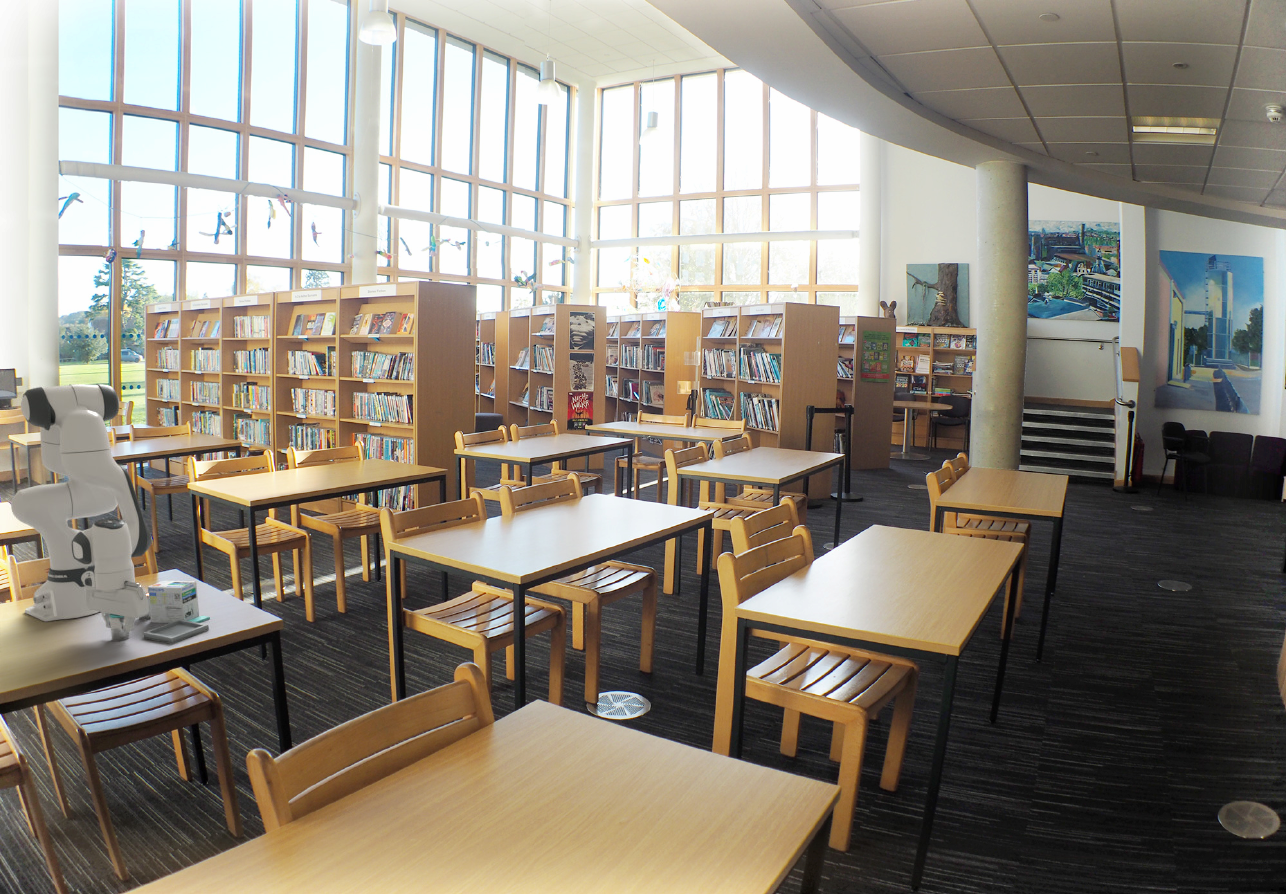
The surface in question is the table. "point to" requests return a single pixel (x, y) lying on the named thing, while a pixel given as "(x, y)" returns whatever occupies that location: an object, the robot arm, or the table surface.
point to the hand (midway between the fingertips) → (119, 629)
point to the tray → (176, 631)
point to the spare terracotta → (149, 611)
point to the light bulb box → (173, 601)
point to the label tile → (199, 619)
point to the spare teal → (118, 628)
